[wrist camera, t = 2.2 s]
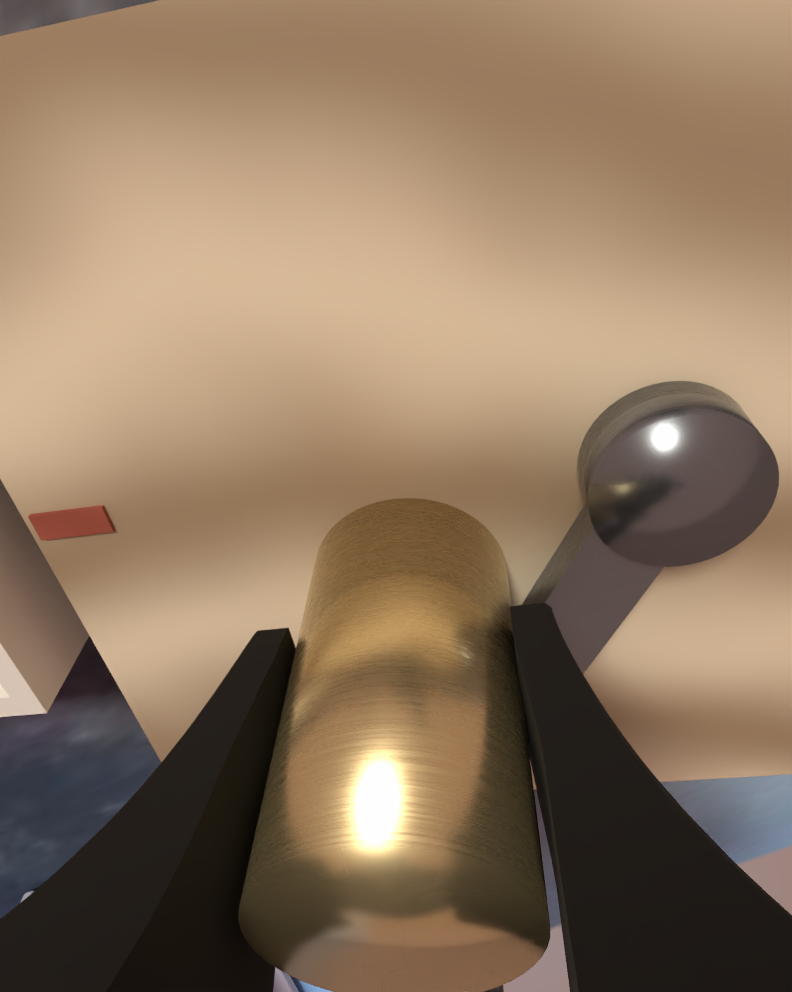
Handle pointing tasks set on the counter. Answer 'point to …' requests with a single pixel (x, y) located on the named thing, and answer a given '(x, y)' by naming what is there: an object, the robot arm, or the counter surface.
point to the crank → (653, 505)
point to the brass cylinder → (401, 770)
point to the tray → (32, 621)
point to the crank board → (393, 315)
